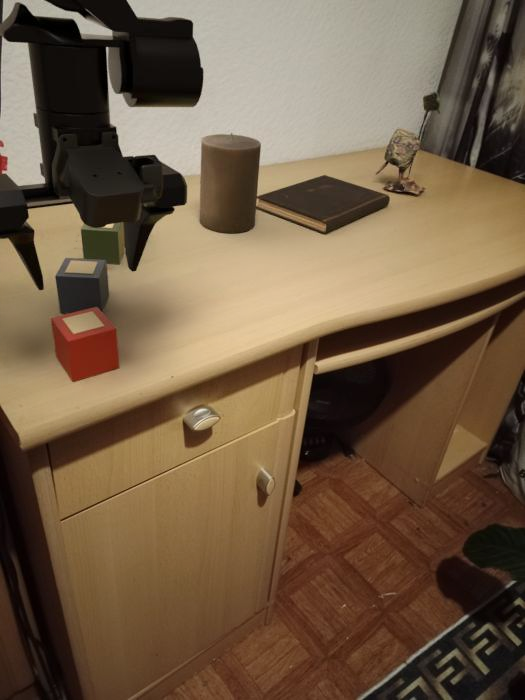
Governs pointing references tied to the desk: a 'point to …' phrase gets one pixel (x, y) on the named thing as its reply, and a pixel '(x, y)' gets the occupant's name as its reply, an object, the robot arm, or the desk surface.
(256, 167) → the pillar candle
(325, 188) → the hardcover book
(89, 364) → the red block
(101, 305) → the slate block
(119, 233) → the olive block
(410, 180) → the mottled figurine
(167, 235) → the desk surface
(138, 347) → the desk surface
